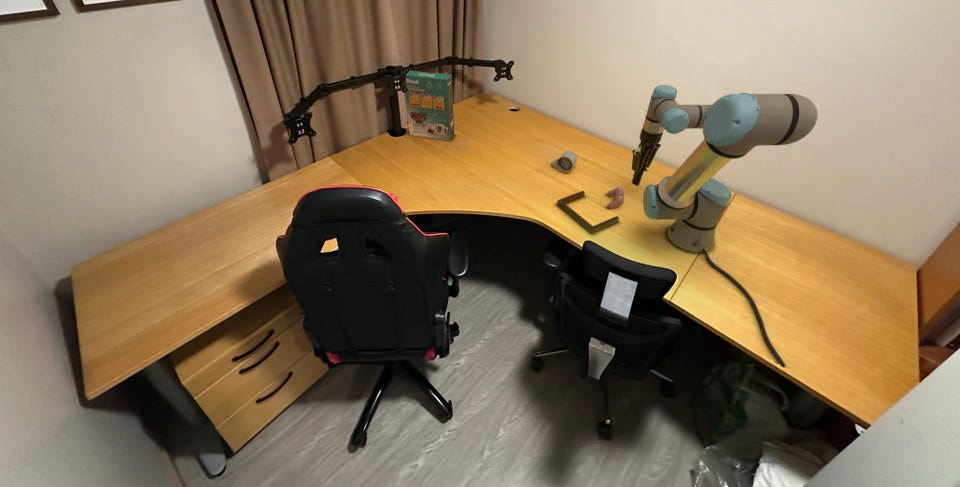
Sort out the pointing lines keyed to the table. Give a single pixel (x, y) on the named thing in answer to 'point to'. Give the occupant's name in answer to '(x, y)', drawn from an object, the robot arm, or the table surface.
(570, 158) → the ceramic mug
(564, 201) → the holder
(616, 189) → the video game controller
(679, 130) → the robot arm
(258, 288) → the table surface
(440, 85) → the cake mix box
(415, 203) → the table surface
